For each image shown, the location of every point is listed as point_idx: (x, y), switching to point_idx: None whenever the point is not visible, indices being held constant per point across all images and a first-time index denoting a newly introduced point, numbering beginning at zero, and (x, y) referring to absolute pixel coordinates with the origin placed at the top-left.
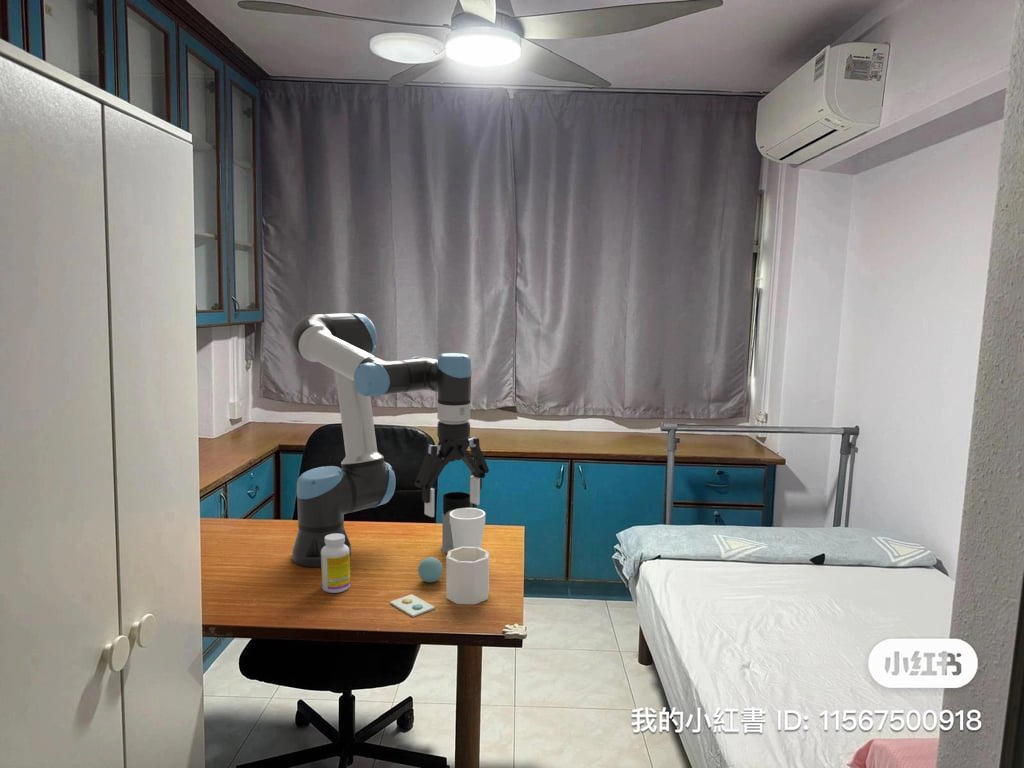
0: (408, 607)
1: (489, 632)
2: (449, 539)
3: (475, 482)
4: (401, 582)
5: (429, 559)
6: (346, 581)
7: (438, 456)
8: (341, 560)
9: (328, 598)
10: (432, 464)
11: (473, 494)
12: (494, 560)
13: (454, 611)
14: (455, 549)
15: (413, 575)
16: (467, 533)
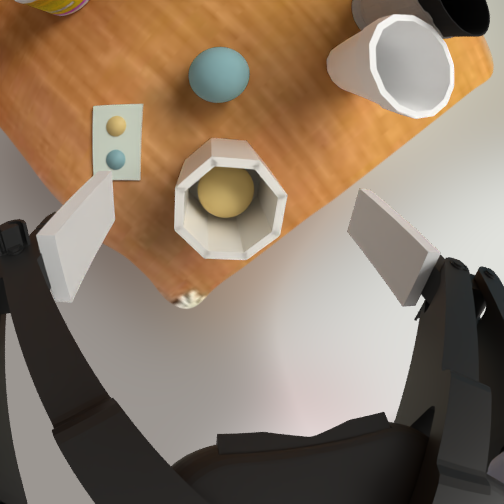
0: (103, 149)
1: (159, 290)
2: (371, 9)
3: (397, 275)
4: (172, 38)
5: (213, 76)
6: (67, 9)
7: (92, 482)
8: (34, 4)
9: (40, 26)
10: (4, 444)
11: (371, 227)
12: (383, 111)
13: (160, 209)
14: (231, 163)
15: (216, 28)
16: (362, 89)
